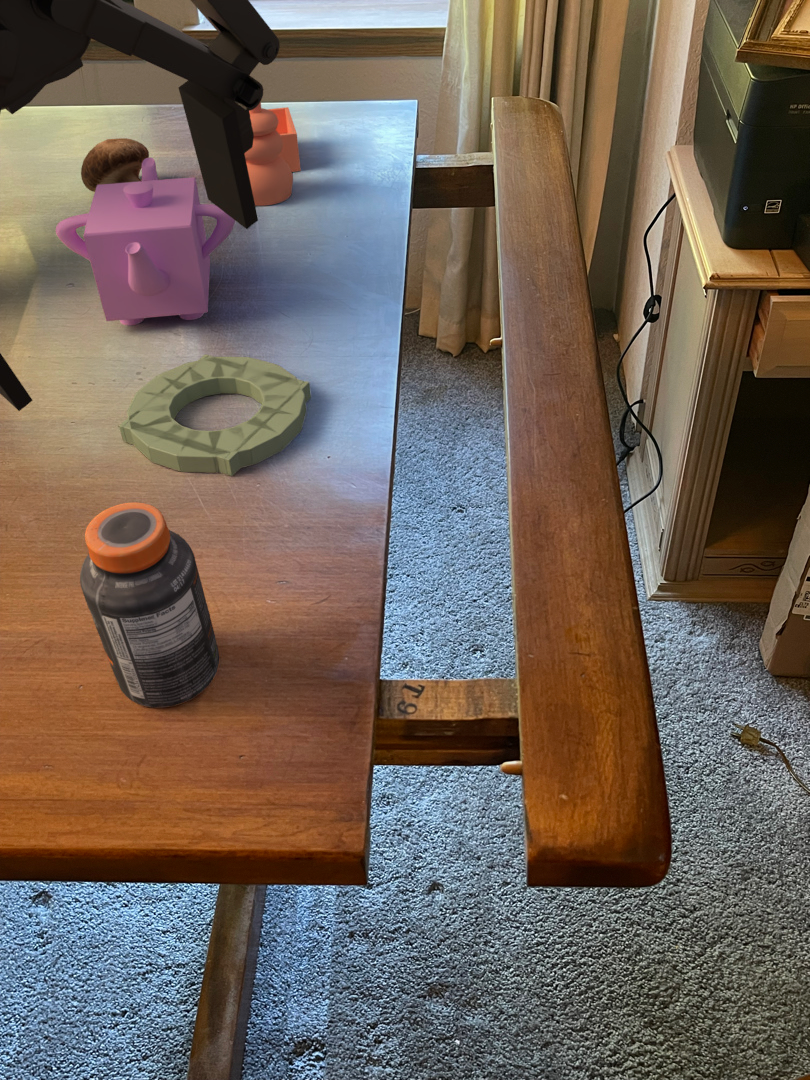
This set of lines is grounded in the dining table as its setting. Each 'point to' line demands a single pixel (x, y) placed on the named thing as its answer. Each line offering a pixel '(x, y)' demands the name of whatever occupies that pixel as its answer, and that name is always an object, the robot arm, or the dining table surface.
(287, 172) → the pottery
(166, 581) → the pill bottle
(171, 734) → the dining table surface
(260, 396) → the hole board
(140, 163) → the mushroom
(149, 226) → the teapot
